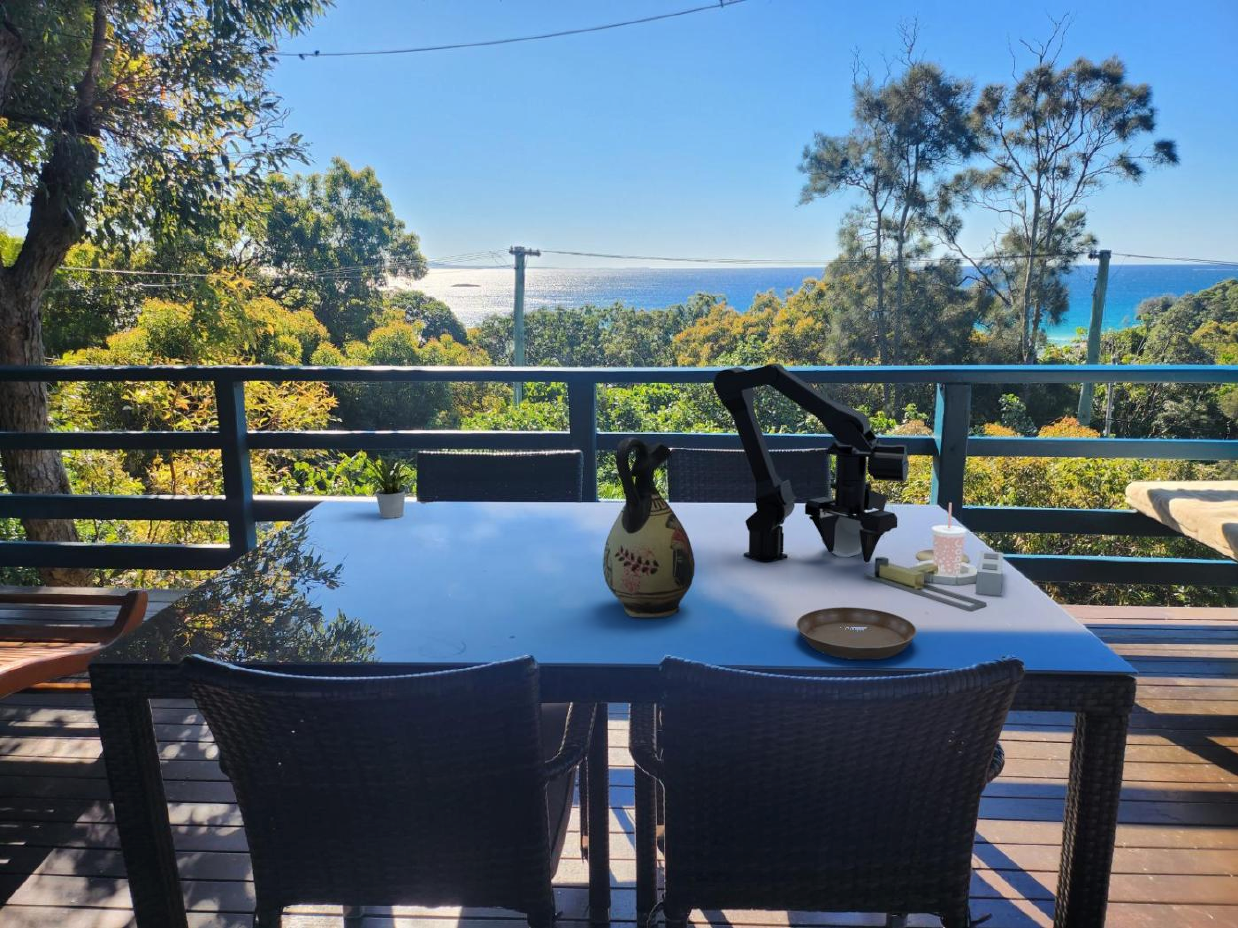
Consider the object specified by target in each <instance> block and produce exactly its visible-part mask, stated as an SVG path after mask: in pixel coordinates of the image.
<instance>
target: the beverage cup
mask: <svg viewBox="0 0 1238 928" xmlns="http://www.w3.org/2000/svg"><path fill="white" fill-rule="evenodd" d="M952 504H953V503H952V502H949V503H948V517H947V518H948V519H947V524H943V525H942V524H939V525H934V526H932V527H931V534H933V539H932V540H933V541H932V542H933V549H932V550H934V564H935V565H938V573H941V574H951V575H957V574H961V572H960V569H961V561H962V554H964V553H963V551H964V550H963V549H964V545H965V544H964V543H965V542H964V541H965V537H966V536H967V529H966V528H964V527H962V526H959V525H958V526H957V525H951V523H952Z"/></svg>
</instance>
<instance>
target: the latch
mask: <svg viewBox="0 0 1238 928" xmlns="http://www.w3.org/2000/svg"><path fill="white" fill-rule="evenodd" d="M925 572H928V573H931V574H937V573H938V565H935V564H931V563H927V564H923V565H919V566H916V565H915V566H913V567H904V566H901V565H899V564H895V563H892V562H889V558H888V557H885V556H877V557H875V560H874V576H876V577H879V578H882V579H885V580H889V581H892V582H895V583H898V584H901V585H904V586H908V587H911V588H914V589H917V590H919V589H921V588H923V587H924V584H925V583H924V582H925V580H924V573H925Z"/></svg>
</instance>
